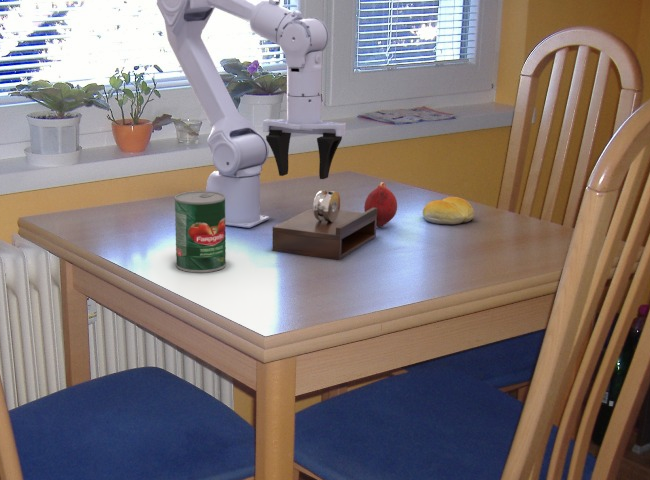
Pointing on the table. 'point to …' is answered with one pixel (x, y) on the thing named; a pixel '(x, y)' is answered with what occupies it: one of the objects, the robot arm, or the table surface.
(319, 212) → the grooved metal pulley
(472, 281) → the table surface
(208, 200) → the canned tomato
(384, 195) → the red squash
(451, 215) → the bread roll
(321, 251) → the shelf
